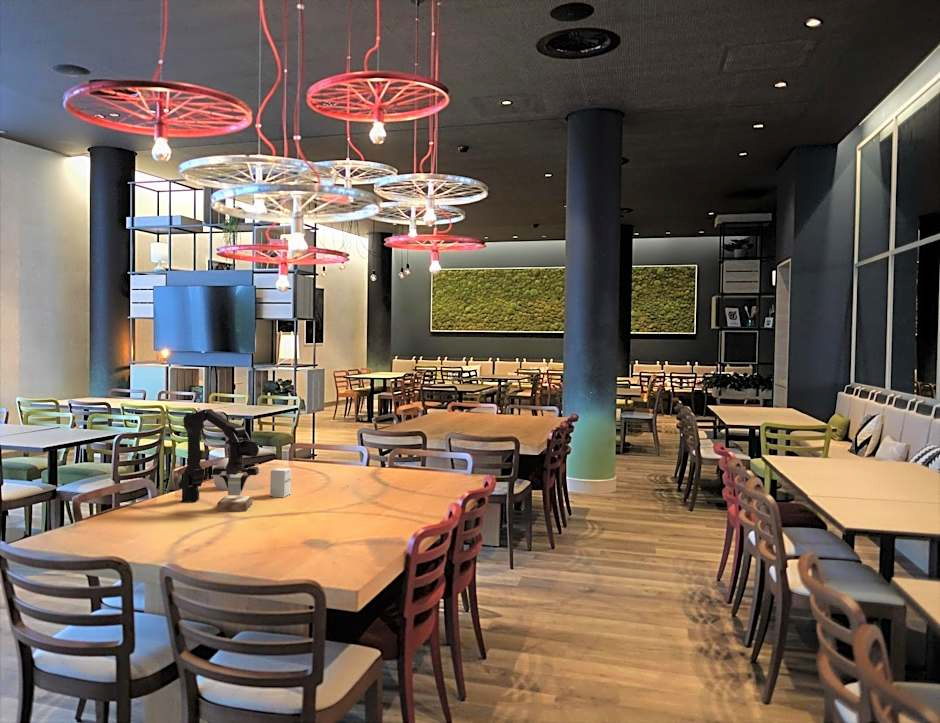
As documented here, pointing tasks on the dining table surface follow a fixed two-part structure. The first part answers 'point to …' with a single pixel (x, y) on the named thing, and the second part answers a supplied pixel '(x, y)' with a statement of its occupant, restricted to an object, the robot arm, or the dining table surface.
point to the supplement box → (280, 482)
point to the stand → (234, 503)
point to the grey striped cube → (234, 486)
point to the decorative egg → (219, 480)
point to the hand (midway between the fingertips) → (235, 490)
